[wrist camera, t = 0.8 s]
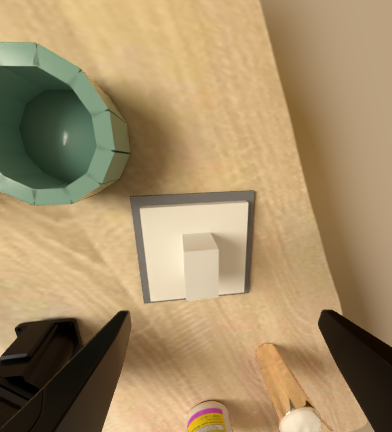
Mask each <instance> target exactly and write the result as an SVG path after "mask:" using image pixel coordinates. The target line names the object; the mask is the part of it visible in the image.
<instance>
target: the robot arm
mask: <svg viewBox="0 0 392 432" xmlns="http://www.w3.org/2000/svg"><path fill="white" fill-rule="evenodd" d="M318 326H319V329H320V331H321V333H322V335H323V337H324V340H325V342H326V344H327V346H328V348H329V350H330V352H331V354H332V357H333V359H334V361H335V363H336V365H337V366H338V368H339V370H340V372H341V374H342V375H343V377H344V379H345V381H346V382H347V384H348V386H349V387H350V389H351V391H352V393H353V394H354V396H355V398H356V400H357V401H358V403H359V405H360V407H361V408H362V410H363V412H364V414H365V415H366V417H367V419H368V421H369V422H370V424H371V426H372V428H373V429H374V431H375V432H392V347H390V346H389V345H387V344H386V343H384V342H383V341H381V340H379V339H378V338H376V337H375V336H373V335H372V334H370V333H368V332H367V331H365V330H364V329H362V328H360V327H359V326H357V325H356V324H354V323H353V322H351V321H350V320H348V319H346V318H345V317H343V316H342V315H340V314H338V313H337V312H335V311H334V310H322V312H321V315H320V318H319V321H318ZM130 331H131V317H130V312H129V311H119V312H118V313H117V314H116V315H115V316H114V317H113V318H112V319H111V320H110V321H109V322H108V323H107V324H106V325H105V326H104V327H103V328H102V329H101V330H100V331H99V332H98V333H97V334H96V335H95V336H94V337H93V338H92V339H91V340H90V341H89V342H88V343H87V344H86V345H85V346H84V347H83V346H82V342H81V338H80V334H79V331H78V327H77V323H76V320H75V319H72V318H70V319H61V320H51V321H41V322H32V323H22V324H19V325H18V326H17V327H16V328H15V332H16V335H17V337H18V338H17V339H16V340H15V341H14V342H13V343H12V344H11V345H10V347H9V348H8V349H7V350H6V351H5V352H4V353H3V354H2V356H1V357H0V432H102V428H103V425H104V422H105V419H106V416H107V413H108V410H109V407H110V404H111V401H112V398H113V395H114V392H115V389H116V386H117V382H118V379H119V376H120V373H121V370H122V366H123V362H124V358H125V353H126V349H127V344H128V340H129V336H130Z"/></svg>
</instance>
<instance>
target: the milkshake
mask: <svg viewBox="0 0 392 432" xmlns="http://www.w3.org/2000/svg"><path fill="white" fill-rule="evenodd" d="M256 358H257V361H258V364H259V367H260V370H261V373H262V376H263V379H264V382H265V385H266V388H267V391H268V394H269V397H270V400H271V403H272V406H273V410H274V413H275V416H276V419H277V422H278V426H279V429H280V432H321V430H322V423H323V424H324V425H325V426H326V427H327V428H328V429H329V430H330V431H333V430H332V429H331V428H330V427H329V426H328V424H327V423H326V422H325V421H324V420H323V419H322V418H321V416H320V414H319V413H318V411H317V410H316V408H315V407H314V405H313V404H312V402H311V401H310V399H309V397H308V396H307V394H306V393H305V391H304V390H303V388H302V387H301V385H300V384H299V382H298V381H297V379H296V377H295V376H294V374H293V373H292V371H291V369H290V368H289V366H288V365H287V363H286V361H285V360H284V358H283V357H282V355H281V354H280V352H279V350H278V349H277V347H276V346H274V345H273V344H267V343H265V344H263V345H261V346H259V348H258V349H257V350H256Z"/></svg>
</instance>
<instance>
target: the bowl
mask: <svg viewBox="0 0 392 432" xmlns="http://www.w3.org/2000/svg"><path fill="white" fill-rule="evenodd" d="M128 153H131V152H130V144H129V136H128V128H127V124H126V121H125V120H124V118H123V117H122V115H121V114H120V112H119V111H118V109H117V108H116V106H115V105H114V103H113V102H112V100H111V99H110V97H109V96H108V95H107V94H106V93H105V92H104V91H103V90H102V89H101V88H100V87H99V86H98V85H97V84H96V83H95V82H94V81H93V80H92V79H91V78H90V77H89V76H87V75H86V74H85V73H84V72H83V71H82V70H81V69H80V68H79V67H77V66H75V65H74V64H72V63H70V62H69V61H67V60H65V59H63V58H62V57H60V56H58V55H57V54H55V53H53V52H52V51H50V50H48V49H47V48H45V47H43V46H42V45H40V44H38V45H37V44H36V43H31V42H0V192H2V193H5V194H7V195H9V196H12V197H14V198H17V199H19V200H21V201H24V202H26V203H29V204H31V205H36V206H41V205H61V204H72V203H75V202H78V201H80V200H82V199H85V198H87V197H89V196H92V195H94V194H97V193H99V192H100V191H102V190H103V189H105V188H106V187H108V186H110V185H111V184H113V183H114V182H116V181H117V180H119V178H120V177H121V175H122V173H123V170H124V168H125V166H126V163H127V161H128V159H129V157H130V154H128Z"/></svg>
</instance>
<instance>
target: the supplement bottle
mask: <svg viewBox="0 0 392 432" xmlns="http://www.w3.org/2000/svg"><path fill="white" fill-rule="evenodd" d="M187 427H188V432H233V430H232V425H231V421H230V416H229V412H228V410H227V408H226V407H225V406H224V405H223V404H221V403H219V402H216V401H207V402H203V403H200V404H198V405H197V406H195V407H194V408H193V409H192V410H191V411H190V413H189V415H188V419H187Z"/></svg>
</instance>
